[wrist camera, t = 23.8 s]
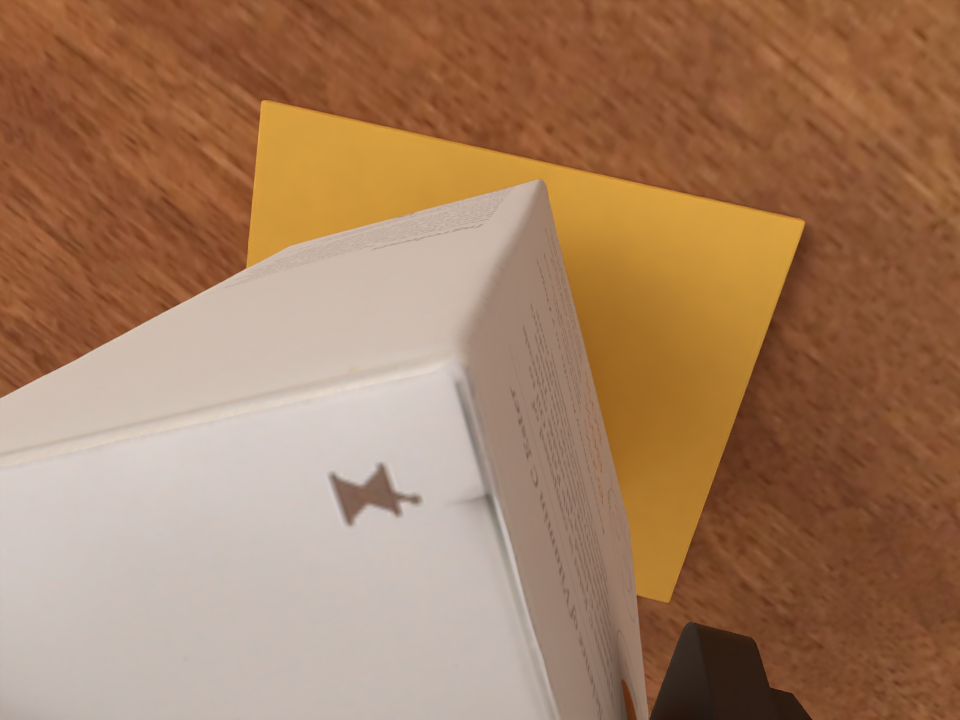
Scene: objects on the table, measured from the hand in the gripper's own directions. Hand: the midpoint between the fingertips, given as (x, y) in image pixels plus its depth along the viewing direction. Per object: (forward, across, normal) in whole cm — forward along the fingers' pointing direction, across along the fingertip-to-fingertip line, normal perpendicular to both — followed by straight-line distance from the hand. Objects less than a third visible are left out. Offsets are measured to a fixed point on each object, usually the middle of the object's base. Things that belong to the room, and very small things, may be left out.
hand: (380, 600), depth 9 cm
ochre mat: (+9, 0, 0) cm, 9 cm away
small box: (+7, 0, 0) cm, 7 cm away
